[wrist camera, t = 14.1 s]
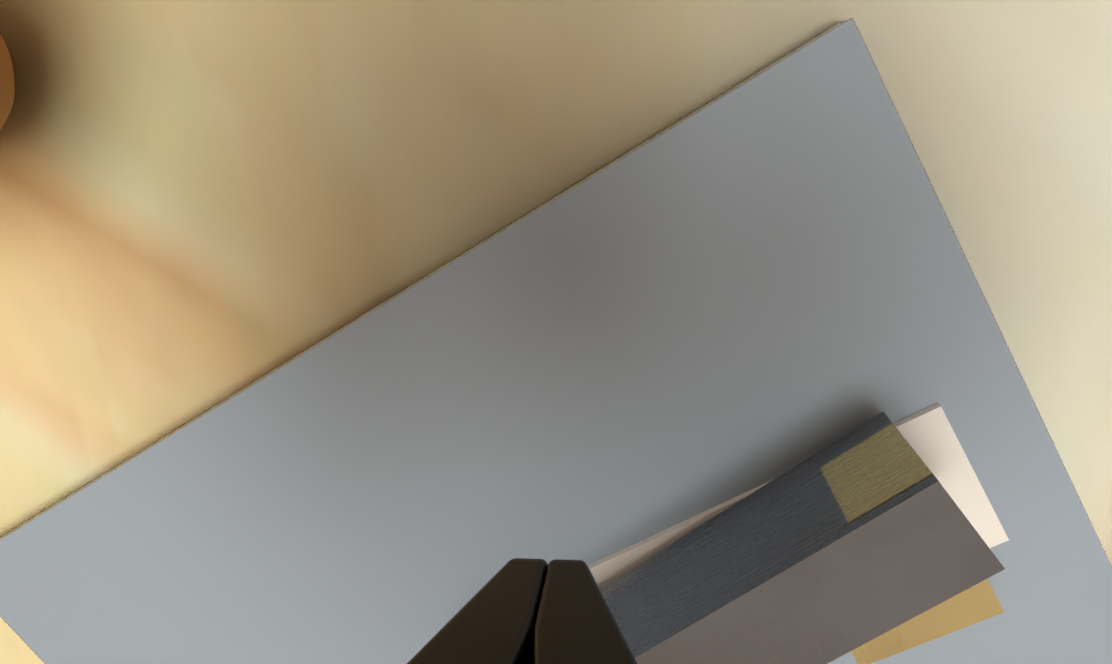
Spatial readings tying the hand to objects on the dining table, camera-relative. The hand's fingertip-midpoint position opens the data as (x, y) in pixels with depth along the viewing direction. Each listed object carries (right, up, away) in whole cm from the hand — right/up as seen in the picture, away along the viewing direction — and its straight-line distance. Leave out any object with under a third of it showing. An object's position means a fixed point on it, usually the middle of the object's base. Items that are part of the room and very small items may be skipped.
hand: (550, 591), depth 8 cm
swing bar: (+4, -4, +12) cm, 13 cm away
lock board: (-1, -5, +14) cm, 15 cm away
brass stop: (+10, -4, +13) cm, 17 cm away
